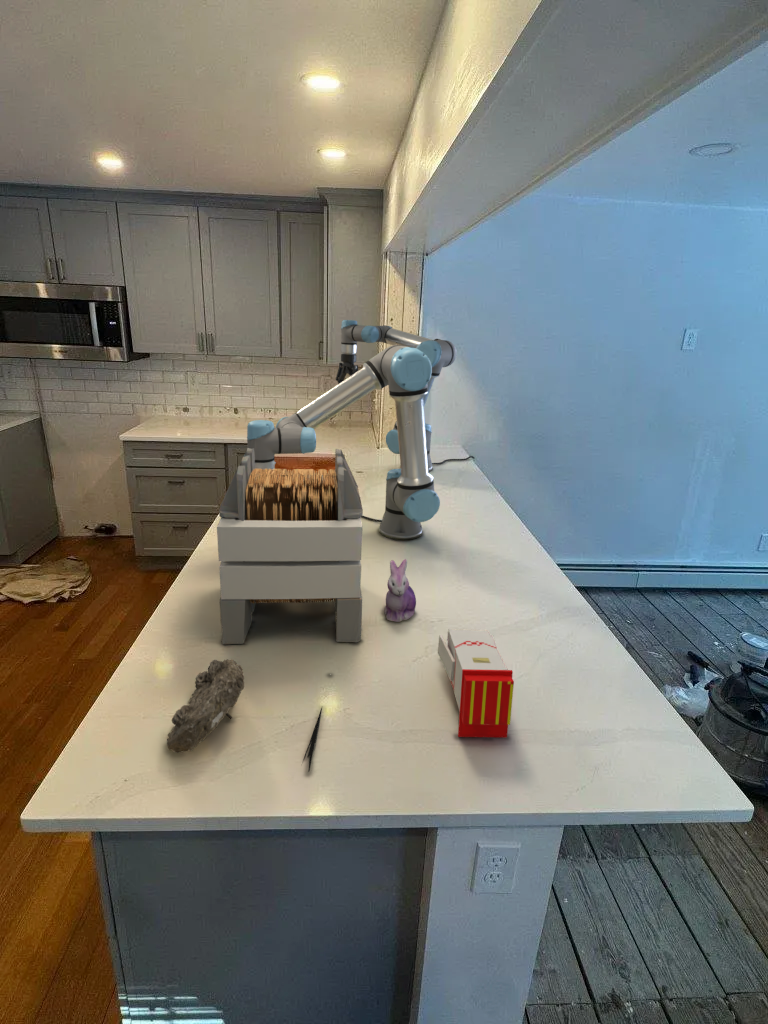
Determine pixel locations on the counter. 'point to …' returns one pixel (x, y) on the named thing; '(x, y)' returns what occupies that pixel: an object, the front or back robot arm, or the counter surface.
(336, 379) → the back robot arm
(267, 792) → the counter surface
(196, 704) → the fossil
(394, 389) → the front robot arm
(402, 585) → the figurine
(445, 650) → the toy
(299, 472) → the transformer
